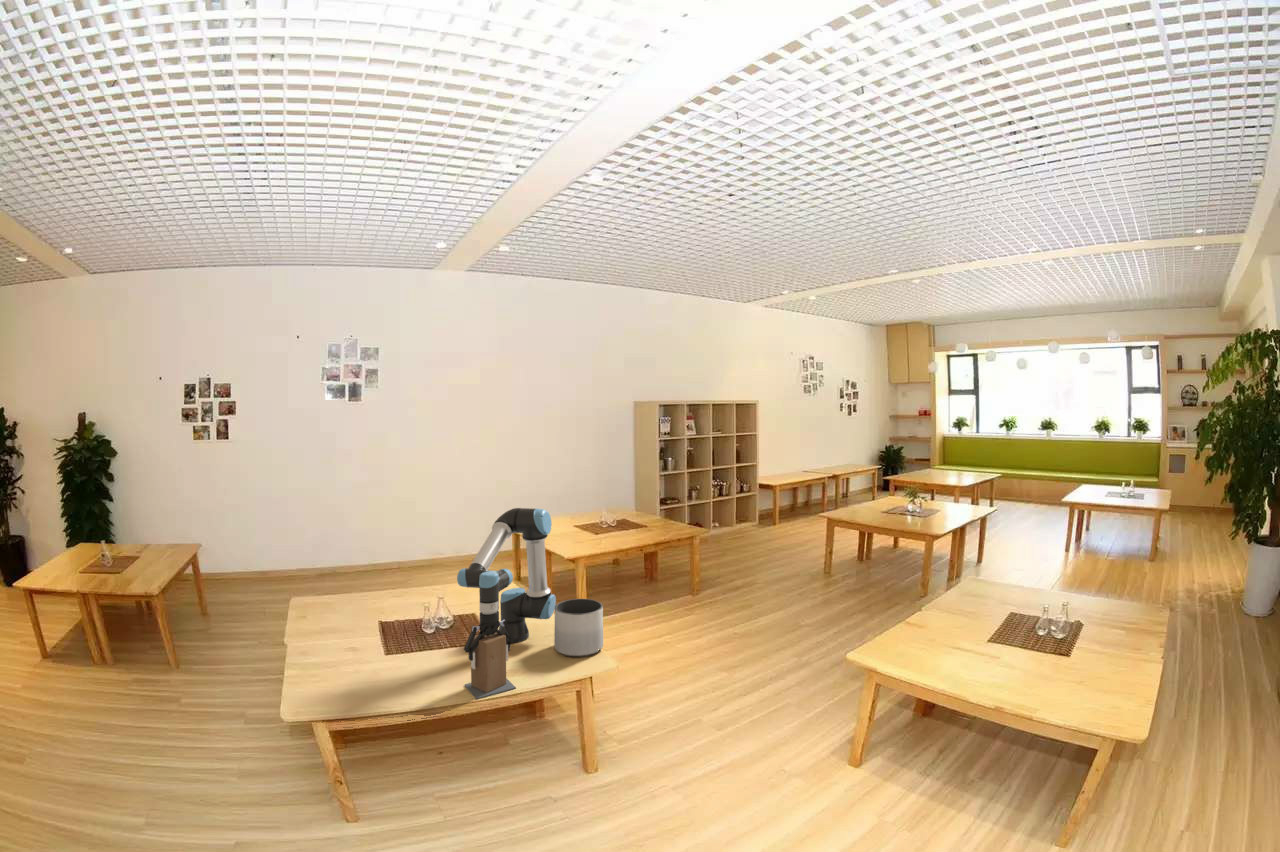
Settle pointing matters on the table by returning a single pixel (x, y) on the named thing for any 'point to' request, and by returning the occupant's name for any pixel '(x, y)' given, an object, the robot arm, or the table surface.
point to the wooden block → (489, 663)
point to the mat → (481, 694)
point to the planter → (578, 627)
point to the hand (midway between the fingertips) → (489, 663)
